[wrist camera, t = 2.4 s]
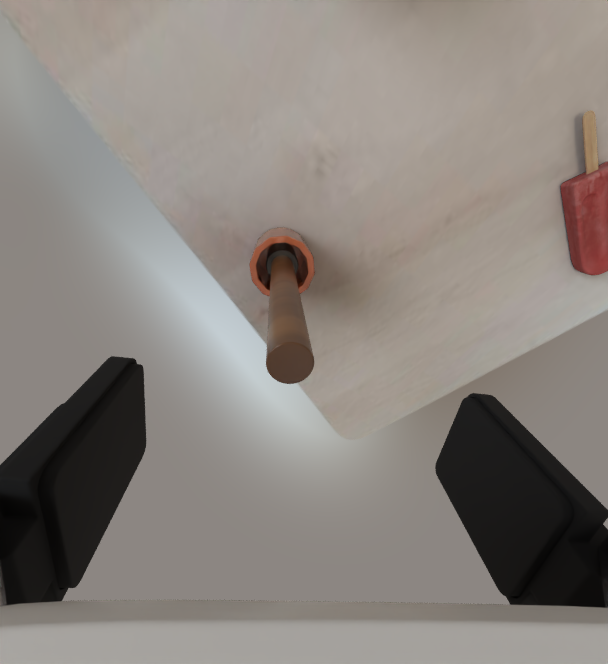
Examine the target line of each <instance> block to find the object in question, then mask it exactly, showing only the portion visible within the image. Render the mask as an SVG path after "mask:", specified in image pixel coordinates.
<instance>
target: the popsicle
mask: <svg viewBox="0 0 608 664" xmlns="http://www.w3.org/2000/svg"><path fill="white" fill-rule="evenodd" d="M582 125H583V138H584V151H585V165H586V172H585V173H583V174H580V175H578V176H576V177H574V178H572V179H570V180H568V181H566V182H564V183H563V184H562V185H561V195H562V201H563V208H564V214H565V221H566V228H567V235H568V242H569V249H570V255H571V261H572V264H573V266H574V268H575V269H576V270H578V271H580V272H583V273H586V274H589V275H599V274H602V273H604V272H606V271H608V162H605V163H603V164H601V165H599V166H598V153H597V136H596V119H595V113H594V112H593V111H587V112H586V113H585V114H584V116H583V119H582Z"/></svg>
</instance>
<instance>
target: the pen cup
mask: <svg viewBox="0 0 608 664" xmlns="http://www.w3.org/2000/svg"><path fill="white" fill-rule="evenodd" d="M284 242H285V243H288V244H289V245H291V246H292V247H293V249H294V251H295V254H296V258H297V261H298V270H297V273H296V279H297V284H298V289H299V293H300V294H301V293H302V292H303V291H305V290H306V289H307V288H308V287H309V285H310V283H311V280H312V278H313V276H314V273H315V271H314V260H313V255H312V254H311V252H310V250H309V248H308V246H307V244H306V243H305V241H304V240H303V238H302V237H301V236H300V234H299V233H297V232H295V231H293V230H291V229H288V228H282V227H280V228H274V229H270V230H269V231H267V232H265V233H264V234H263V235H262V236H261V237H260V238H259V239H258V241H257V244H256V246H255V249H254V252H253V255H252V258H251V261H250V271H251V276H252V281H253V282H254V284H255V285H256V286H257V287H258V289H259V290H260V291H261V292H262V293H263V294H264V295H267V296H270V279H271V276H270V275H269V274H268V272H267V268H266V262H267V254H268V250H269V248H270V247H271V246H272V245H273V244H276V243H284Z"/></svg>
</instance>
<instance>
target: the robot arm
mask: <svg viewBox="0 0 608 664" xmlns="http://www.w3.org/2000/svg"><path fill="white" fill-rule="evenodd" d="M145 425H146V424H145V398H144V372H143V366H142V365H139V364H137V363H136V360H135V359H133V358H123V357H110V358H108V359H107V360H106V361H105V362H104V363H103V364H102V366H101V367H100V368H99V369H98V370H97V371H96V372H95V373H94V374H93V375H92V376H91V377H90V378H89V379H88V380H87V381H86V382H85V383H84V384H83V385H82V386H81V387H80V388H79V389H78V390H77V391H76V392H75V393H74V394H73V395H72V396H71V397H70V398H69V399H68V400H67V401H66V402H65V403H64V404H61V405H60V406H59V407H57V408H56V409H55V410H54V411H53V413H51V414H50V415H49V416H48V417H47V418H46V420H44V421H43V423H41V424H40V425H39V427H38V428H37V429H36V430H35V431H34V432H33V433H32V434H31V435H30V436H29V437H28V438H27V439H26V440H25V441H24V442H23V443H22V444H21V445H20V446H19V447H18V448H17V449H16V450H15V451H14V452H13V453H12V454H11V455H10V456H9V457H8V458H7V459H6V460H5V461H4V462H3V463H2V464H1V465H0V664H608V529H607V528H606V527H605V526H604V525H603V523H604V522H605V520H606V519H607V518H608V510H607V509H606V508H605V507H604V506H603V505H602V504H601V503H600V502H599V501H598V500H597V499H596V498H595V497H594V496H593V495H592V494H591V493H590V492H589V491H588V490H587V489H586V488H585V487H584V486H583V485H582V484H581V483H580V482H579V481H578V480H577V479H576V478H575V477H574V476H573V475H572V474H571V473H570V472H569V471H568V470H567V469H566V468H565V467H564V466H563V465H562V464H561V463H560V462H559V461H558V460H557V459H556V458H555V457H554V456H553V455H552V454H551V453H550V452H549V451H548V450H547V449H546V448H545V447H544V446H543V445H542V444H541V443H540V442H539V441H538V440H537V439H536V438H535V437H534V436H533V435H532V434H531V433H530V432H529V431H528V430H527V429H526V428H525V427H524V426H523V425H522V424H521V423H520V422H519V421H518V420H517V419H516V418H515V417H514V416H513V415H512V414H511V413H510V412H509V411H508V410H507V409H506V408H505V407H504V406H503V405H502V404H501V403H500V402H499V401H498V400H497V399H496V398H495V397H493V396H491V395H485V394H475V393H473V394H470V395H469V396H468V397H467V398H464V399H463V401H462V403H461V405H460V408H459V410H458V413H457V415H456V417H455V419H454V422H453V424H452V426H451V429H450V431H449V434H448V436H447V438H446V441H445V443H444V446H443V448H442V450H441V453H440V455H439V458H438V460H437V462H436V474H437V476H438V478H439V480H440V482H441V484H442V485H443V488H444V489H445V491H446V493H447V495H448V497H449V499H450V501H451V502H452V504H453V506H454V508H455V510H456V512H457V514H458V515H459V517H460V519H461V521H462V523H463V525H464V527H465V529H466V530H467V532H468V534H469V536H470V538H471V540H472V542H473V543H474V545H475V547H476V549H477V551H478V553H479V555H480V556H481V558H482V560H483V562H484V564H485V565H486V568H487V569H488V571H489V573H490V575H491V577H492V579H493V581H494V582H495V584H496V586H497V588H498V589H499V591H500V592H501V593H502V594H503V595H504V596H506V597H507V599H508V601H509V603H510V605H499V604H498V605H497V604H452V603H393V602H329V601H328V602H326V601H323V602H321V601H240V600H238V601H237V600H98V601H97V600H93V601H92V600H91V601H62V599H63V597H64V595H65V594H66V592H67V590H68V588H75V587H76V586H77V585H78V584H79V582H80V581H81V579H82V577H83V575H84V573H85V571H86V569H87V567H88V564H89V563H90V561H91V559H92V557H93V555H94V553H95V551H96V549H97V547H98V545H99V543H100V541H101V538H102V537H103V535H104V533H105V531H106V529H107V527H108V525H109V523H110V520H111V519H112V517H113V515H114V513H115V511H116V509H117V507H118V505H119V503H120V501H121V499H122V497H123V495H124V493H125V491H126V489H127V487H128V485H129V483H130V481H131V479H132V477H133V475H134V473H135V471H136V469H137V467H138V465H139V463H140V461H141V459H142V457H143V454H144V452H145V448H146V426H145Z"/></svg>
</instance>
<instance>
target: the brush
mask: <svg viewBox="0 0 608 664" xmlns="http://www.w3.org/2000/svg"><path fill="white" fill-rule="evenodd" d="M266 268H267V272H268V274H269V275H270V276H271V279H270V299H269V318H268V338H267V358H266V366H267V370H268V372H269V374H270V375H271V376H272V377H273V378H274V379H276V380H277V381H279V382H282V383H287V384H293V383H298V382H300V381H302V380H304V379H305V378H307V377H308V376H309V374H310V373H311V372H312V369H313V367H314V357H313V353H312V348H311V344H310V339H309V334H308V330H307V325H306V321H305V316H304V311H303V307H302V302H301V298H300V293H299V289H298V284H297V279H296V273H297V270H298V261H297V258H296V254H295V251H294V249H293V247H292V246H291V245H289V244H288V243H285V242H284V243H276V244H273V245H272V246H271V247H270V248H269V250H268V254H267V262H266Z"/></svg>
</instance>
